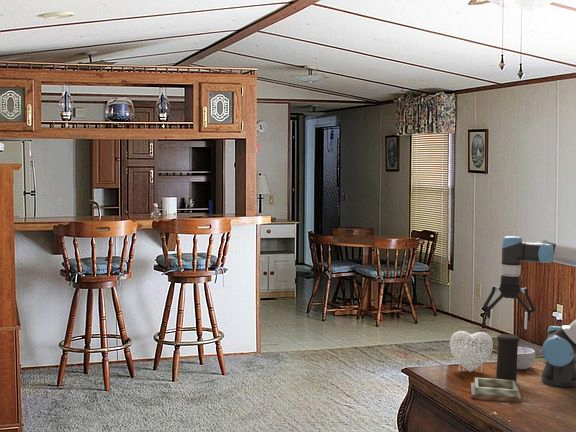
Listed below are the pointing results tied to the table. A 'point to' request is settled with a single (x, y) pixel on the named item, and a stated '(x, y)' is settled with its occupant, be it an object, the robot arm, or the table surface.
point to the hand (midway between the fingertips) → (508, 327)
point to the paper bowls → (525, 357)
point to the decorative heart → (471, 349)
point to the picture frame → (495, 390)
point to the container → (507, 357)
